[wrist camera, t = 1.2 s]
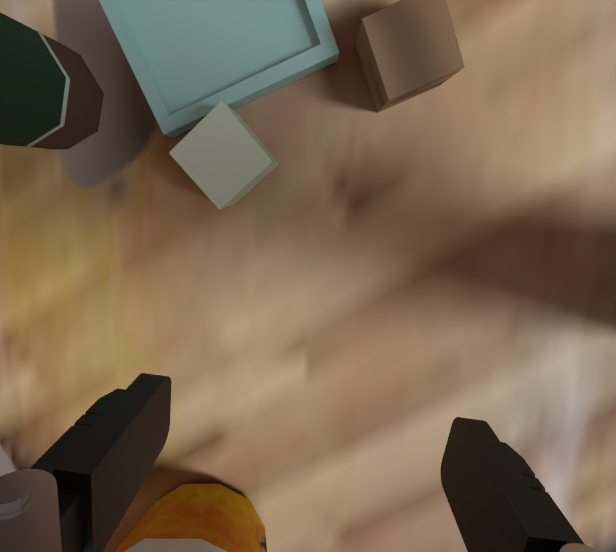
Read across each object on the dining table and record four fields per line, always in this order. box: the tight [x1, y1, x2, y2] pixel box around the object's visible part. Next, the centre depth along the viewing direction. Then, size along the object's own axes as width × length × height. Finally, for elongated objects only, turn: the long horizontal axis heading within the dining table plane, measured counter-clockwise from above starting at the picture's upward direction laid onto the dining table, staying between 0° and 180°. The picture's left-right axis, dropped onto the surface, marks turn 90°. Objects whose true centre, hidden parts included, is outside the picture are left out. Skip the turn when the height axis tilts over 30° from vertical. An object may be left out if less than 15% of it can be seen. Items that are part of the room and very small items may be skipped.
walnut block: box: [354, 0, 464, 113], centre depth 26 cm, size 5×5×5 cm
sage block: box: [169, 101, 279, 210], centre depth 28 cm, size 5×5×5 cm
